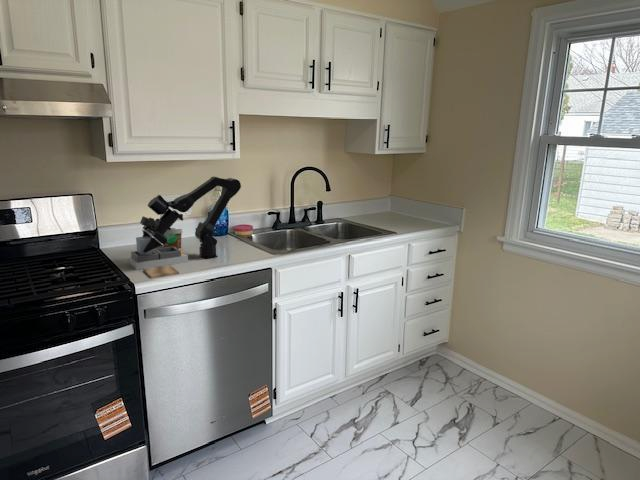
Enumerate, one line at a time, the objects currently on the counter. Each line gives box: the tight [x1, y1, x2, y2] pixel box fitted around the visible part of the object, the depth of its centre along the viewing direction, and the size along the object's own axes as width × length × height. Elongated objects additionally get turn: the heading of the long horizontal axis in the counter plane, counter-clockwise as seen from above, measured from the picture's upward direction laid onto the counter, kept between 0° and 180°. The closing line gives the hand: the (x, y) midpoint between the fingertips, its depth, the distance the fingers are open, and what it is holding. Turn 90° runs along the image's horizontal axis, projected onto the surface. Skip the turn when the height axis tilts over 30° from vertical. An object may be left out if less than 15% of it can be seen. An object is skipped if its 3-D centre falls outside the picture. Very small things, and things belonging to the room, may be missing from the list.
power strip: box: [130, 246, 189, 271], centre depth 202 cm, size 22×9×6 cm, turn 126°
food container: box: [163, 227, 183, 250], centre depth 226 cm, size 12×6×10 cm, turn 56°
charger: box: [135, 236, 153, 256], centre depth 197 cm, size 5×5×9 cm
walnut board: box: [142, 265, 180, 279], centre depth 190 cm, size 11×11×1 cm
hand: (141, 249), depth 196 cm, fingers open, 9 cm apart
